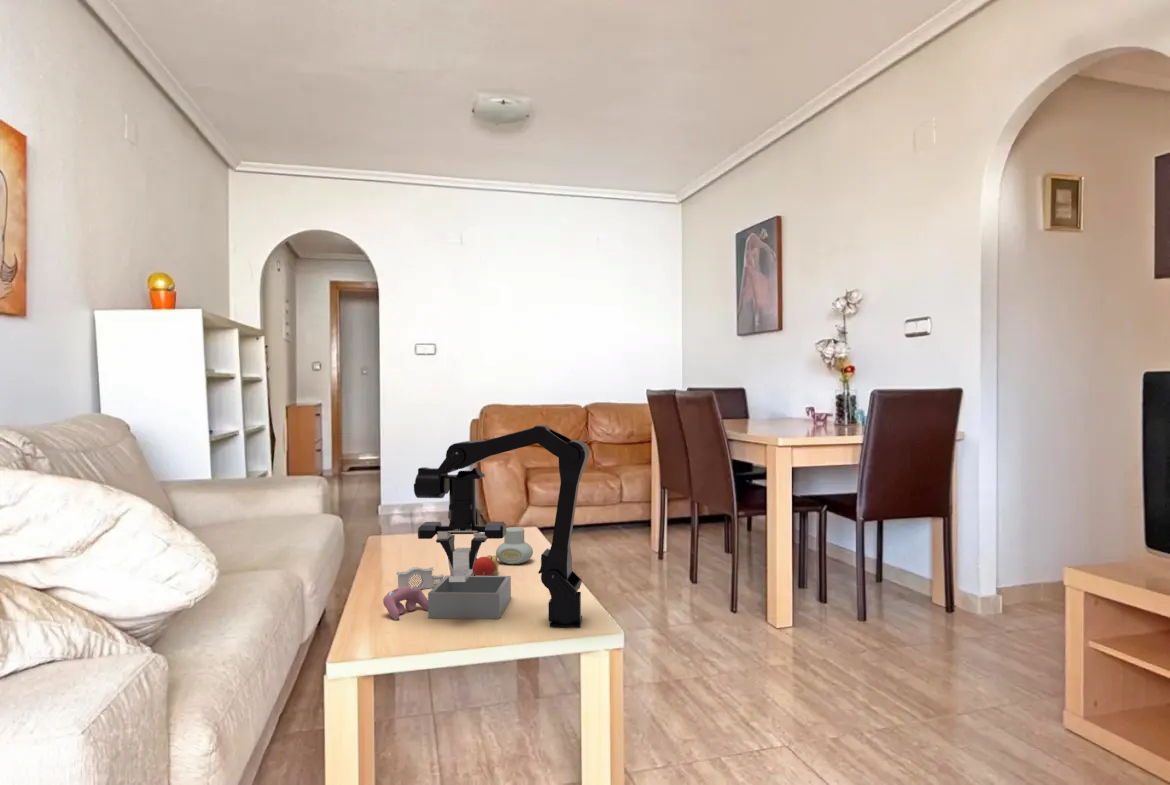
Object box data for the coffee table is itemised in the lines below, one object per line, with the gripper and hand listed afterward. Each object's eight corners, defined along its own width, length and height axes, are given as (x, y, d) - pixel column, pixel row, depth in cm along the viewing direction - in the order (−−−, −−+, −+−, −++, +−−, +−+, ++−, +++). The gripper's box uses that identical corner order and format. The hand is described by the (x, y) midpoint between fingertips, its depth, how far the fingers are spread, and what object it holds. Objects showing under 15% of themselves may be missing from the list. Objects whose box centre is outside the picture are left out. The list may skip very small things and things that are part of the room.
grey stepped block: (472, 572, 151) (472, 547, 151) (465, 582, 143) (465, 556, 143) (457, 572, 151) (456, 547, 151) (448, 582, 143) (448, 556, 144)
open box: (510, 598, 164) (510, 575, 164) (499, 618, 149) (499, 594, 149) (446, 597, 165) (445, 575, 165) (428, 618, 150) (428, 593, 150)
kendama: (473, 570, 197) (465, 578, 179) (477, 548, 198) (470, 554, 180) (499, 574, 197) (494, 582, 179) (503, 552, 198) (498, 558, 180)
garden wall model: (442, 585, 176) (442, 562, 177) (444, 586, 175) (444, 563, 175) (396, 592, 170) (396, 568, 170) (398, 593, 169) (398, 570, 169)
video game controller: (422, 613, 158) (413, 584, 160) (433, 608, 155) (424, 579, 157) (385, 625, 150) (377, 594, 152) (396, 619, 148) (388, 588, 150)
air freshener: (535, 559, 203) (535, 526, 203) (529, 566, 195) (529, 531, 195) (500, 558, 205) (500, 525, 205) (492, 565, 197) (492, 531, 197)
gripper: (509, 493, 157) (509, 560, 157) (430, 493, 158) (430, 560, 158) (502, 500, 146) (502, 572, 146) (416, 500, 147) (417, 572, 147)
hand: (463, 568), depth 149 cm, fingers closed on grey stepped block, 3 cm apart
